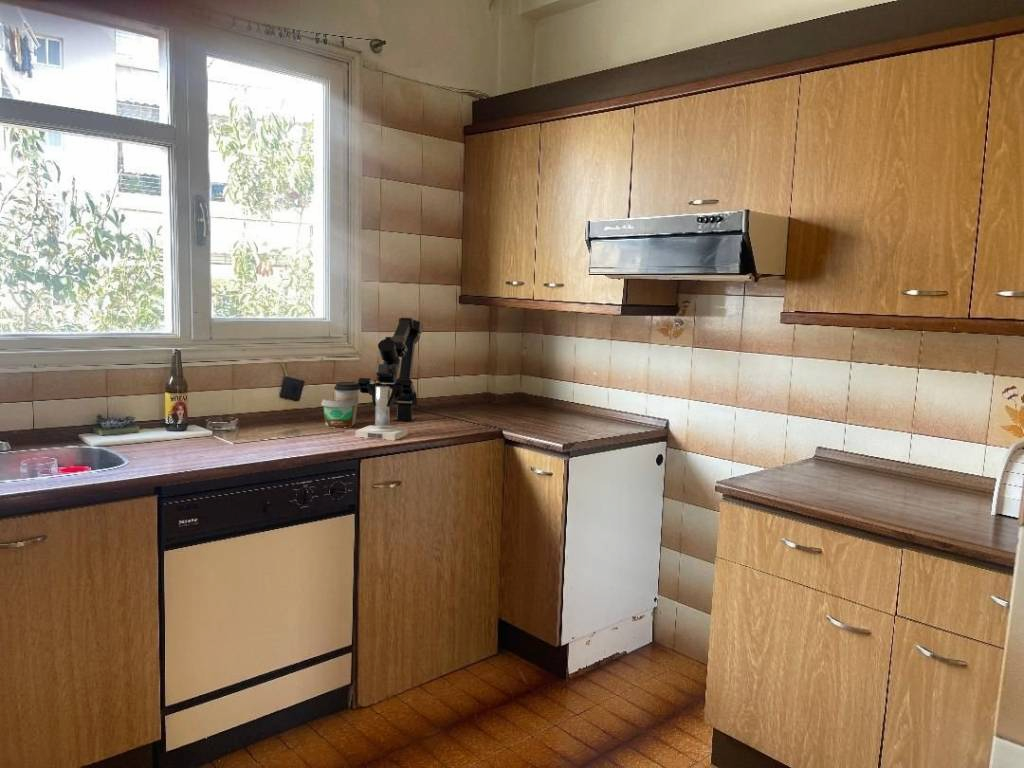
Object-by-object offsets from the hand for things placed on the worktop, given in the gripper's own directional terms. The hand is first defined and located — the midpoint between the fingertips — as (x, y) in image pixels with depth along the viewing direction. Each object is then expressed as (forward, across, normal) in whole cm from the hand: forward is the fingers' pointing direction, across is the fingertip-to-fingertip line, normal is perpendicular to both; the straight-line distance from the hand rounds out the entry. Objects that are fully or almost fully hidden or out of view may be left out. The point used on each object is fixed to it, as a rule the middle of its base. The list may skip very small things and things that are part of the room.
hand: (381, 406), depth 251 cm
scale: (+7, 0, +8) cm, 11 cm away
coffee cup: (-7, -18, +22) cm, 29 cm away
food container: (-1, -18, +16) cm, 25 cm away
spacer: (+4, 0, +6) cm, 7 cm away
